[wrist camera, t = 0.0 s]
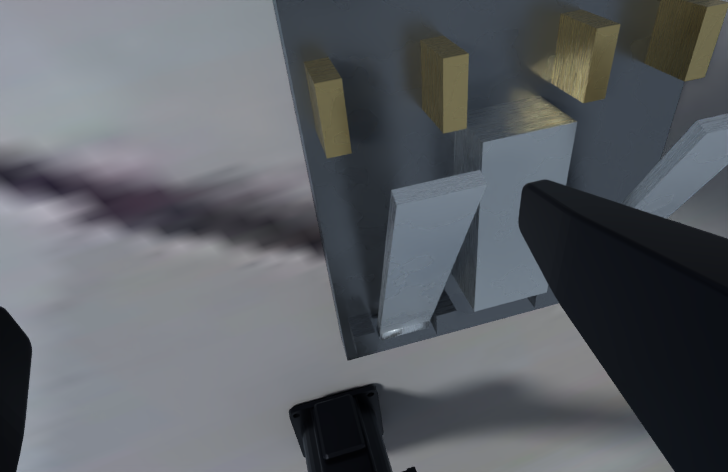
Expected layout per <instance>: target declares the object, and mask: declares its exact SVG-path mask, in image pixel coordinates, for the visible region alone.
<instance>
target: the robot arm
mask: <svg viewBox="0 0 728 472" xmlns="http://www.w3.org/2000/svg"><path fill="white" fill-rule="evenodd" d="M518 225H519V229H520V232H521V234H522V236H523V238H524V240H525V242H526V243H527V245H528V247H529V249H530V251H531V253H532V255H533V257H534V259H535V261H536V262H537V264H538V266H539V268H540V270H541V272H542V274H543V276H544V278H545V279H546V281H547V283H548V285H549V287H550V289H551V290H552V292H553V294H554V296H555V297H556V299H557V300H558V302H559V303H560V305H561V307H562V308H563V309H564V311H565V312H566V314H567V315H568V317H569V318H570V320H571V321H572V323H573V324H574V326H575V327H576V328H577V330H578V331H579V333H580V334H581V336H582V337H583V339H584V340H585V342H586V343H587V344H588V346H589V347H590V349H591V350H592V352H593V353H594V355H595V356H596V358H597V359H598V361H599V362H600V363H601V365H602V366H603V368H604V369H605V371H606V372H607V374H608V375H609V377H610V378H611V379H612V381H613V382H614V384H615V385H616V387H617V388H618V390H619V391H620V393H621V394H622V396H623V397H624V398H625V400H626V401H627V403H628V404H629V406H630V407H631V409H632V410H633V412H634V413H635V414H636V416H637V417H638V419H639V420H640V422H641V423H642V425H643V426H644V428H645V429H646V430H647V432H648V433H649V435H650V436H651V438H652V439H653V441H654V442H655V444H656V445H657V447H658V448H659V449H660V451H661V452H662V454H663V455H664V457H665V458H666V460H667V461H668V463H669V464H670V465H671V467H672V468H673V470H674V471H675V472H728V239H727V238H724V237H721V236H718V235H715V234H712V233H709V232H706V231H703V230H700V229H697V228H693V227H690V226H687V225H684V224H681V223H678V222H675V221H672V220H669V219H666V218H663V217H660V216H657V215H654V214H651V213H648V212H645V211H642V210H639V209H636V208H633V207H630V206H627V205H623V204H620V203H617V202H614V201H611V200H608V199H605V198H602V197H599V196H596V195H593V194H590V193H587V192H584V191H581V190H578V189H575V188H572V187H569V186H566V185H563V184H560V183H557V182H554V181H550V180H547V179H544V180H539V181H535V182H530V183H527V184H525V185H524V186H523V189H522V192H521V200H520V209H519V217H518ZM31 358H32V346H31V343H30V340H29V338H28V337H27V335H26V334H25V333H24V331H23V330H22V329H21V328H20V326H19V325H18V324H17V323H16V321H15V320H14V319H13V318H12V316H11V315H10V314H9V313H8V311H7V310H6V309H4V308H3V307H1V306H0V472H16V470H17V465H18V461H19V456H20V452H21V446H22V441H23V436H24V428H25V420H26V410H27V399H28V389H29V378H30V368H31ZM289 417H290V420H291V423H292V426H293V428H294V431H295V434H296V437H297V439H298V442H299V445H300V448H301V451H302V453H303V456H304V457H305V458H306V464H307V470H308V472H393V471H392V468H391V465H390V461H389V458H388V455H387V452H386V448H385V445H384V442H383V438H382V435H383V427H382V420H381V413H380V406H379V400H378V393H377V390H376V387H375V386H367V387H363V388H360V389H356V390H353V391H349V392H345V393H342V394H338V395H335V396H331V397H328V398H324V399H320V400H317V401H313V402H310V403H306V404H303V405H299V406H295V407H293V408H291V409H290V410H289ZM403 472H417V471H416V469H415V467H411V468H408V469H407V470H406V471H403Z"/></svg>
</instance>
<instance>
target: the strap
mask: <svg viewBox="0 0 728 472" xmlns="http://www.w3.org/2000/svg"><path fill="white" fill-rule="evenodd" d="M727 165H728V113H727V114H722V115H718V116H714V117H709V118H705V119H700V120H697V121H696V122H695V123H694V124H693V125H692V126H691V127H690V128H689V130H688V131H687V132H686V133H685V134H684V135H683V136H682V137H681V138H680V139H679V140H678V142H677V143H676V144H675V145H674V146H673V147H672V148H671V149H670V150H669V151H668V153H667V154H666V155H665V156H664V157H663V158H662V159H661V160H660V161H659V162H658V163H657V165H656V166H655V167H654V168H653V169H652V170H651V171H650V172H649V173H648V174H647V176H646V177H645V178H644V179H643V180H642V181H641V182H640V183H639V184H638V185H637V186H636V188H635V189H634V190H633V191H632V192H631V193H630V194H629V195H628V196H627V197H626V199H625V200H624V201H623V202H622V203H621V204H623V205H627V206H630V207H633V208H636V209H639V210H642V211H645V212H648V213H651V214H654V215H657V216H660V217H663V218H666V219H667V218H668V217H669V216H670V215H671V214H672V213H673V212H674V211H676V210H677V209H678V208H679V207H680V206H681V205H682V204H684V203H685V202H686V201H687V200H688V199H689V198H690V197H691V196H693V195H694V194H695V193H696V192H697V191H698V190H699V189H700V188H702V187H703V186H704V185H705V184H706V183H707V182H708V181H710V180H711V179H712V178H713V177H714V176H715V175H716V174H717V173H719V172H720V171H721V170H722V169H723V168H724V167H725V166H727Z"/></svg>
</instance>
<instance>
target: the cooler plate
mask: <svg viewBox="0 0 728 472" xmlns="http://www.w3.org/2000/svg"><path fill="white" fill-rule="evenodd" d="M273 5H274V10H275V15H276V20H277V25H278V29H279V34H280V39H281V44H282V49H283V54H284V59H285V64H286V69H287V74H288V79H289V83H290V88H291V93H292V98H293V103H294V108H295V113H296V118H297V123H298V128H299V133H300V138H301V142H302V147H303V152H304V157H305V162H306V167H307V172H308V177H309V182H310V187H311V192H312V197H313V201H314V206H315V211H316V216H317V221H318V226H319V231H320V236H321V241H322V246H323V251H324V256H325V260H326V265H327V270H328V275H329V280H330V285H331V290H332V295H333V300H334V305H335V310H336V314H337V319H338V324H339V329H340V334H341V338H342V342H343V346H344V349H345V353H346V356H347V360H352V359H355V358H359V357H363V356H366V355H370V354H374V353H377V352H381V351H385V350H388V349H392V348H396V347H399V346H403V345H407V344H410V343H414V342H418V341H422V340H425V339H429V338H433V337H436V336H440V335H444V334H447V333H451V332H455V331H458V330H462V329H466V328H469V327H473V326H477V325H480V324H484V323H488V322H491V321H495V320H499V319H503V318H506V317H510V316H514V315H517V314H521V313H525V312H528V311H532V310H536V309H539V308H543V307H547V306H550V305H554V304H558V303H559V302H558V300H557V299H556V297H555V296H554V294H553V292H552V290H551V289H550V287H549V285H548V283H547V281H546V279H545V278H544V276H543V274H542V272H541V270H540V268H539V266H538V264H537V262H536V261H535V259H534V257H533V255H532V253H531V251H530V249H529V247H528V245H527V243H526V242H525V240H524V238H523V236H522V234H521V232H520V229H519V225H518V217H519V209H520V200H521V192H522V189H523V186H524V185H525V184H527V183H530V182H535V181H539V180H544V179H547V180H550V181H554V182H557V183H560V184H563V185H566V186H569V187H572V188H575V189H578V190H581V191H584V192H587V193H590V194H593V195H596V196H599V197H602V198H605V199H608V200H611V201H614V202H617V203H620V204H621V203H622V202H623V201H624V200H625V199H626V197H627V196H628V195H629V194H630V193H631V192H632V191H633V190H634V189H635V188H636V186H637V185H638V184H639V183H640V182H641V181H642V180H643V179H644V178H645V177H646V176H647V174H648V173H649V172H650V171H651V170H652V169H653V168H654V167H655V166H656V165H657V163H658V162H659V161H660V159H661V156H662V153H663V149H664V146H665V143H666V140H667V136H668V133H669V130H670V127H671V123H672V120H673V117H674V114H675V110H676V107H677V104H678V101H679V97H680V94H681V91H682V88H683V85H684V82H685V81H689V80H694V79H699V78H703V77H705V75H706V72H707V69H708V66H709V63H710V60H711V57H712V54H713V51H714V48H715V45H716V42H717V39H718V36H719V33H720V30H721V27H722V24H723V21H724V18H725V15H726V12H727V9H728V2H724V1H720V0H273ZM477 170H480V171H481V173H482V175H483V177H484V179H485V181H486V184H487V186H486V188H485V191H484V193H483V196H482V198H481V200H480V203H479V205H478V208H477V210H476V212H475V215H474V217H473V220H472V222H471V224H470V227H469V229H468V231H467V234H466V236H465V239H464V241H463V243H462V246H461V248H460V251H459V253H458V255H457V258H456V260H455V263H454V265H453V267H452V270H451V272H450V274H449V277H448V279H447V282H446V284H445V286H444V289H443V291H442V294H441V296H440V298H439V301H438V303H437V306H436V308H435V310H434V313H433V315H432V317H431V320H430V322H429V328H426V329H422V330H418V331H415V332H411V333H407V334H404V335H400V336H396V337H392V338H389V339H385V340H382V339H381V338H379V336H378V332H377V319H378V310H379V301H380V291H381V282H382V273H383V263H384V254H385V244H386V235H387V226H388V216H389V207H390V198H391V190H393V189H398V188H402V187H407V186H411V185H415V184H420V183H424V182H428V181H433V180H437V179H442V178H446V177H450V176H455V175H459V174H464V173H468V172H472V171H477Z"/></svg>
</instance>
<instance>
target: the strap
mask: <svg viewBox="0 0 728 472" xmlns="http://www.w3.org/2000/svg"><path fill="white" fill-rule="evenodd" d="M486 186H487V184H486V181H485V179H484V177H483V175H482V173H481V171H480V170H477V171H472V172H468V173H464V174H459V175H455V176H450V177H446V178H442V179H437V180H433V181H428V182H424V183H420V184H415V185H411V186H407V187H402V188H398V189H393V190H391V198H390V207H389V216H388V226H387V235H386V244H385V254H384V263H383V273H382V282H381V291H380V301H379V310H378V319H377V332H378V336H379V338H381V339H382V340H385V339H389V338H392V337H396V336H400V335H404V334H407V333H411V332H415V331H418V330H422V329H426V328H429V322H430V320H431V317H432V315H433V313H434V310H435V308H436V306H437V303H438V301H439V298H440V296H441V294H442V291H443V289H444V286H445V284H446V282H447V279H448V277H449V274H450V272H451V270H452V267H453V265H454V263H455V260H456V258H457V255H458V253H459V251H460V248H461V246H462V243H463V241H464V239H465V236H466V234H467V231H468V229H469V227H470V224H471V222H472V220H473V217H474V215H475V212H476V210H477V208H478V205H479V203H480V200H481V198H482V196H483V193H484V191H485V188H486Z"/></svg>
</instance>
